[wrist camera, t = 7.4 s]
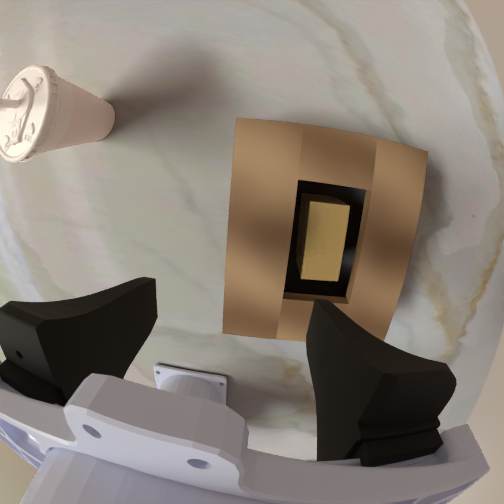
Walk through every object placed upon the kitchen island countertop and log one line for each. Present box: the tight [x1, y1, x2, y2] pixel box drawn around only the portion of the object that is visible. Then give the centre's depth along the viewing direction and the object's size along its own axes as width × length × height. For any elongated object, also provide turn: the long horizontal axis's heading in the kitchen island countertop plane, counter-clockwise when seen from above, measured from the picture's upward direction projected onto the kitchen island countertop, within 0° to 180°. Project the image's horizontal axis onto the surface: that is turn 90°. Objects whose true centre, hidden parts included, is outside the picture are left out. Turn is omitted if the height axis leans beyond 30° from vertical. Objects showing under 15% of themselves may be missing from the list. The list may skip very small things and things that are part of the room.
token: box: [295, 193, 350, 281], centre depth 19 cm, size 5×2×4 cm, turn 176°
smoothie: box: [0, 65, 115, 162], centre depth 12 cm, size 6×6×14 cm
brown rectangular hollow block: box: [222, 118, 428, 341], centre depth 19 cm, size 14×12×5 cm
